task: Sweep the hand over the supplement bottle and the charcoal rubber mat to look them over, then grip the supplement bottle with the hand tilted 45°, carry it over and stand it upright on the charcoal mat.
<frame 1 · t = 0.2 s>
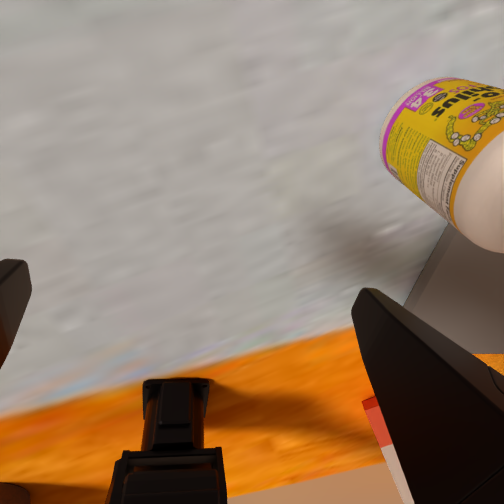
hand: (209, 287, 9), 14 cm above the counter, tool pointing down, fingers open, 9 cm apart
charcoal mat: (482, 291, 32), on the counter
french fries container: (380, 405, 42), on the counter
supplement bottle: (421, 129, 23), on the counter
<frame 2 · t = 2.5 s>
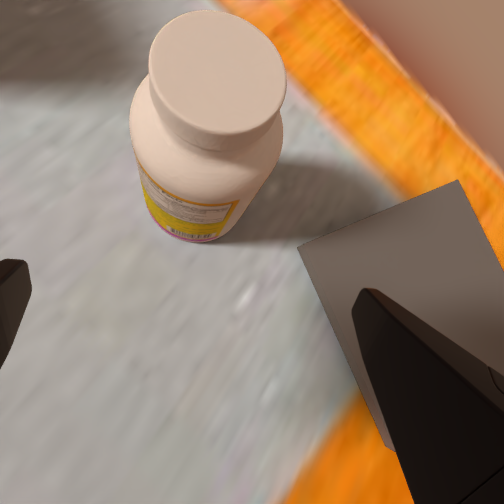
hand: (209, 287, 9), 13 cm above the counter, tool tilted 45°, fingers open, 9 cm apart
charcoal mat: (419, 301, 26), on the counter
supplement bottle: (194, 199, 24), on the counter
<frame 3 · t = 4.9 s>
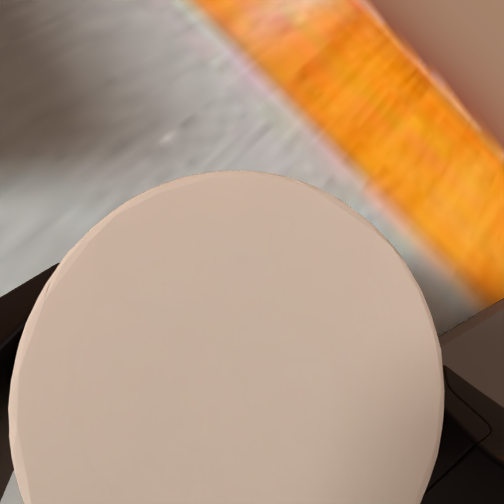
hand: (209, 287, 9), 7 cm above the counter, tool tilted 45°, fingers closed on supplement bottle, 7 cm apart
supplement bottle: (190, 330, 16), on the counter, touching gripper
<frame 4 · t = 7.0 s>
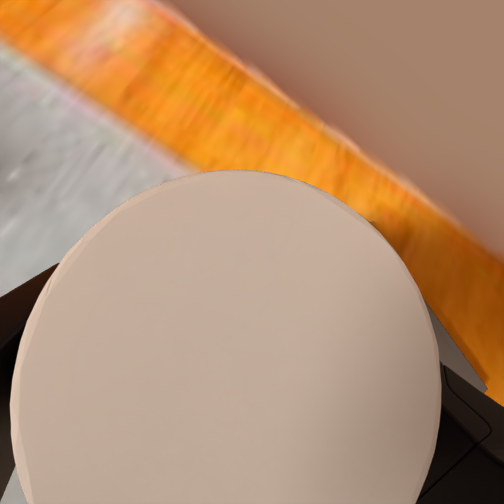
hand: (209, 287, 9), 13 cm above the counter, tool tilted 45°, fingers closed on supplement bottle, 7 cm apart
charcoal mat: (347, 368, 24), on the counter
supplement bottle: (188, 329, 16), point 6 cm above the counter, touching gripper
when the fingers open (9 cm above the counter, at t = 9.3 s): supplement bottle stays where it is, resting on charcoal mat.
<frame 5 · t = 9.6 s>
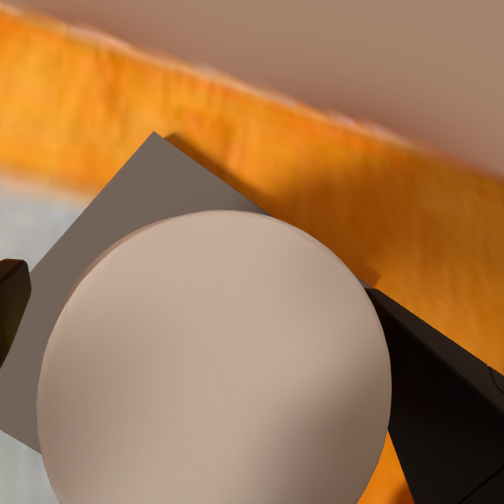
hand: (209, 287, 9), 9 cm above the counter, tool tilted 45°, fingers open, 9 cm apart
charcoal mat: (187, 329, 18), on the counter
supplement bottle: (187, 333, 17), point 1 cm above the counter, touching charcoal mat
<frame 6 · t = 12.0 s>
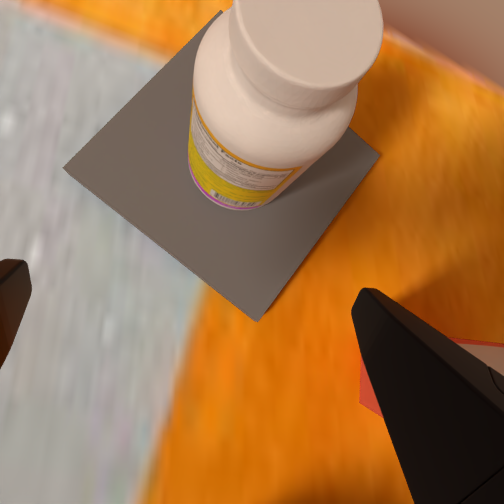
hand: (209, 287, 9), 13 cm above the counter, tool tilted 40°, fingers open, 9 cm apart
charcoal mat: (235, 167, 24), on the counter
french fries container: (407, 364, 25), on the counter
supplement bottle: (237, 164, 23), point 1 cm above the counter, touching charcoal mat
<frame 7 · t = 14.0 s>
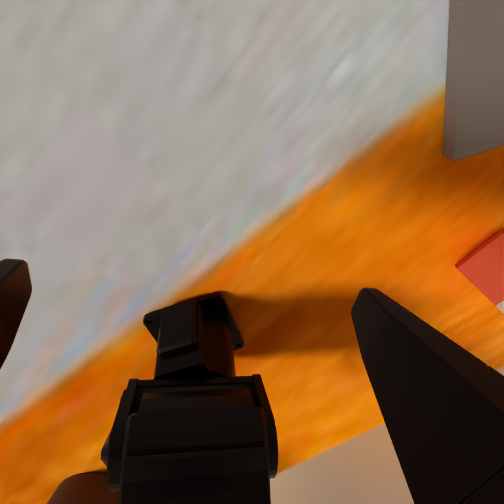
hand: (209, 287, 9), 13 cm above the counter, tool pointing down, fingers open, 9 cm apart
french fries container: (487, 264, 29), on the counter
plant pot: (93, 484, 41), on the counter
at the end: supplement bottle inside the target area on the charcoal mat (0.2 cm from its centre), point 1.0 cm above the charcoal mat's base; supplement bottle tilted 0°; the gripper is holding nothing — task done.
